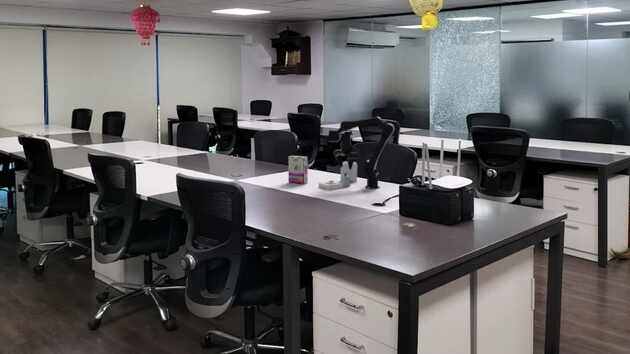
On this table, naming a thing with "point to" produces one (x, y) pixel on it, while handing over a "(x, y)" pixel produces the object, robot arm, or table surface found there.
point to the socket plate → (330, 185)
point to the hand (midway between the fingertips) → (345, 168)
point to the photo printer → (349, 171)
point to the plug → (345, 180)
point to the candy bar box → (298, 169)
